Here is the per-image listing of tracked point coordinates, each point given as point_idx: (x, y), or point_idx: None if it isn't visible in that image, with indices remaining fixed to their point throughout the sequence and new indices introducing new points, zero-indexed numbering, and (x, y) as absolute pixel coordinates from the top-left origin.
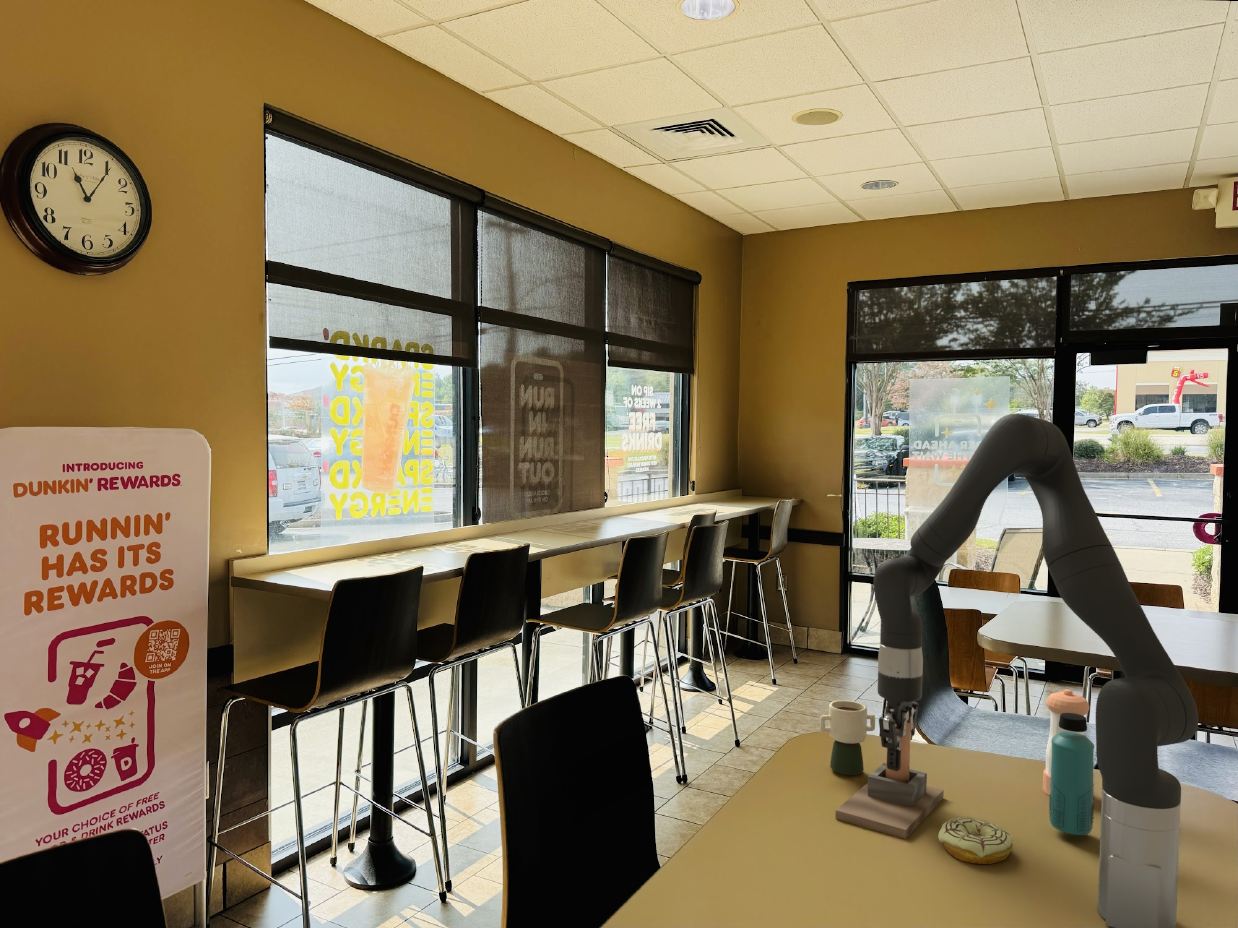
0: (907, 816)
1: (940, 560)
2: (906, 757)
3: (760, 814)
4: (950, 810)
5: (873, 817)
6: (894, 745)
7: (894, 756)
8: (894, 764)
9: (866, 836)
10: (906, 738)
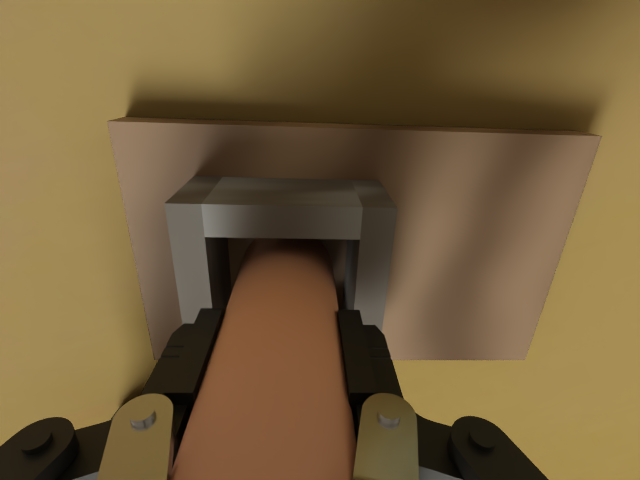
0: (475, 167)
1: None
2: (307, 327)
3: (558, 462)
4: (227, 53)
5: (535, 260)
6: (523, 458)
7: (396, 381)
8: (384, 344)
9: (600, 239)
10: (313, 447)
